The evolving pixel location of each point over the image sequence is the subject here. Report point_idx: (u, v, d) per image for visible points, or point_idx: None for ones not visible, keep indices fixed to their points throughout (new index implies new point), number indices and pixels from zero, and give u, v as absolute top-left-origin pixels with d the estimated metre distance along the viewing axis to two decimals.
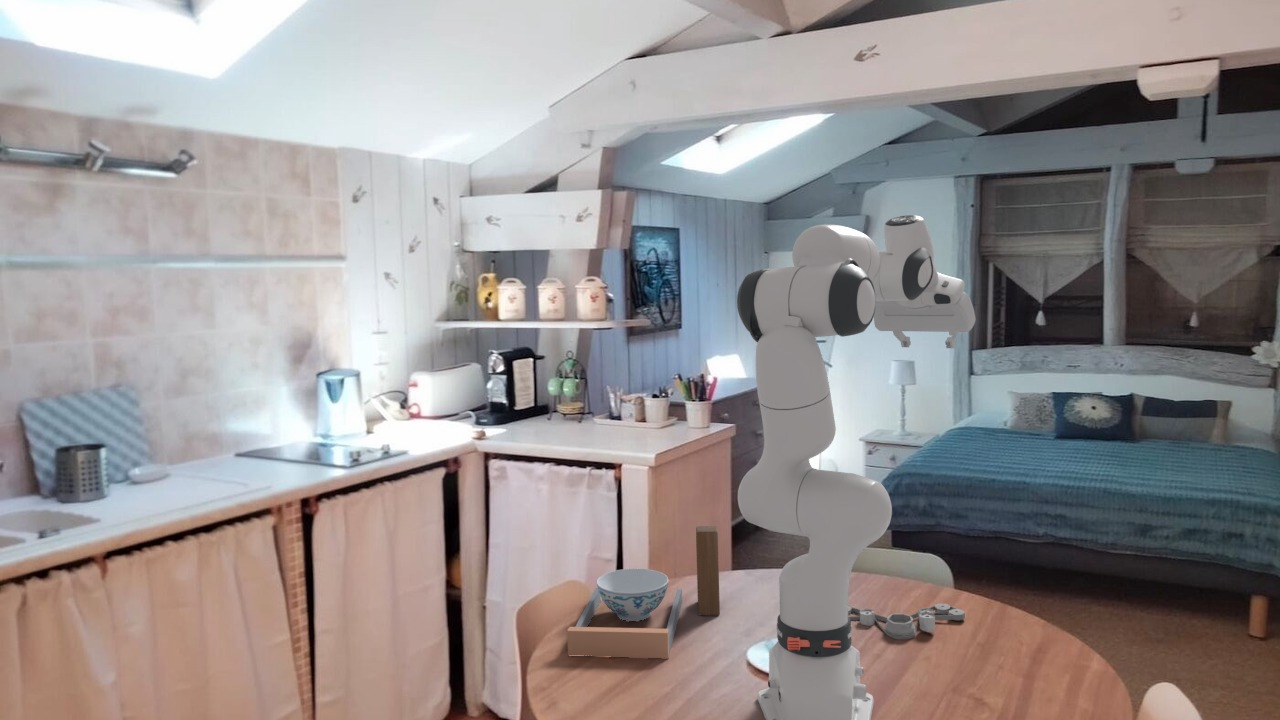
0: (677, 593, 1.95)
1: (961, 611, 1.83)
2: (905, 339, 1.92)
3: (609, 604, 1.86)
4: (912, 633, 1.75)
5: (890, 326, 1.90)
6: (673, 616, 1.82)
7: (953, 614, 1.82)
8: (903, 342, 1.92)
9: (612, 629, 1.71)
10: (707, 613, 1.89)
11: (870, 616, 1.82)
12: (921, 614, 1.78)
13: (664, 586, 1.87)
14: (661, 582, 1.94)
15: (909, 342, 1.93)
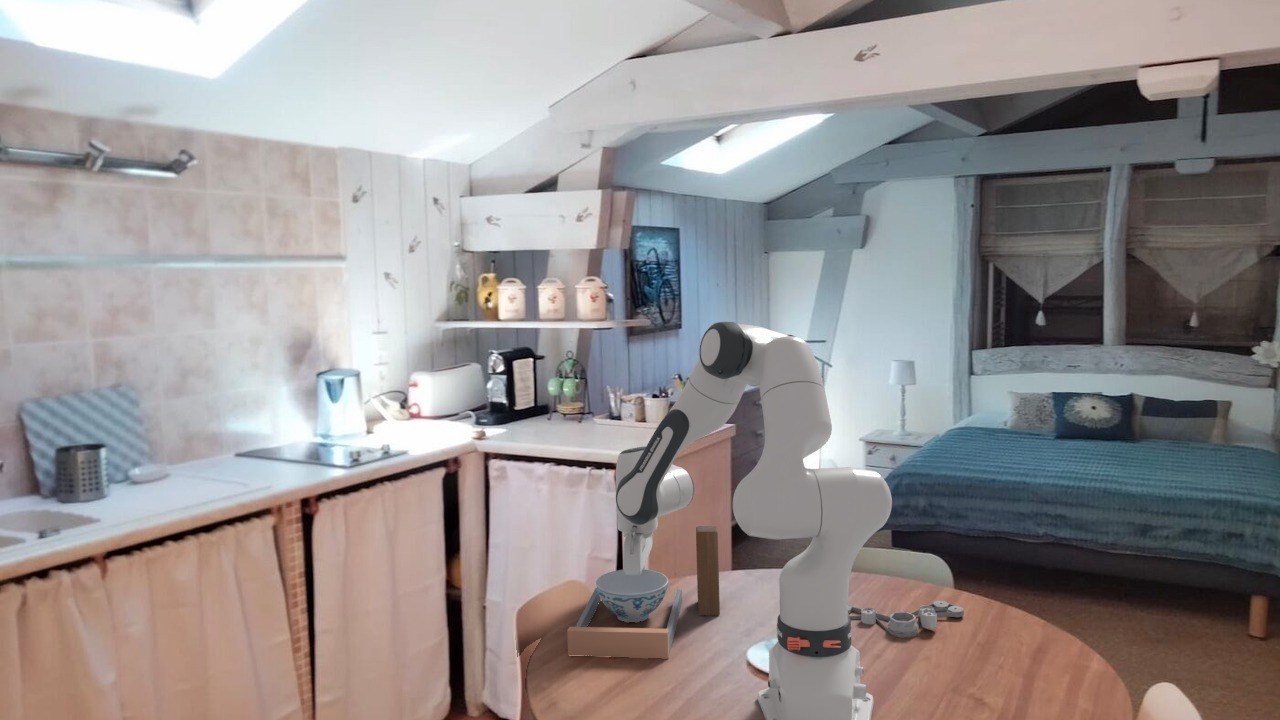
0: (677, 593, 1.95)
1: (960, 608, 1.85)
2: None
3: (608, 605, 1.86)
4: (915, 631, 1.76)
5: (642, 565, 1.93)
6: (673, 616, 1.82)
7: (953, 611, 1.84)
8: None
9: (612, 629, 1.71)
10: (707, 613, 1.89)
11: (872, 615, 1.82)
12: (923, 612, 1.79)
13: (664, 587, 1.86)
14: (661, 583, 1.93)
15: None
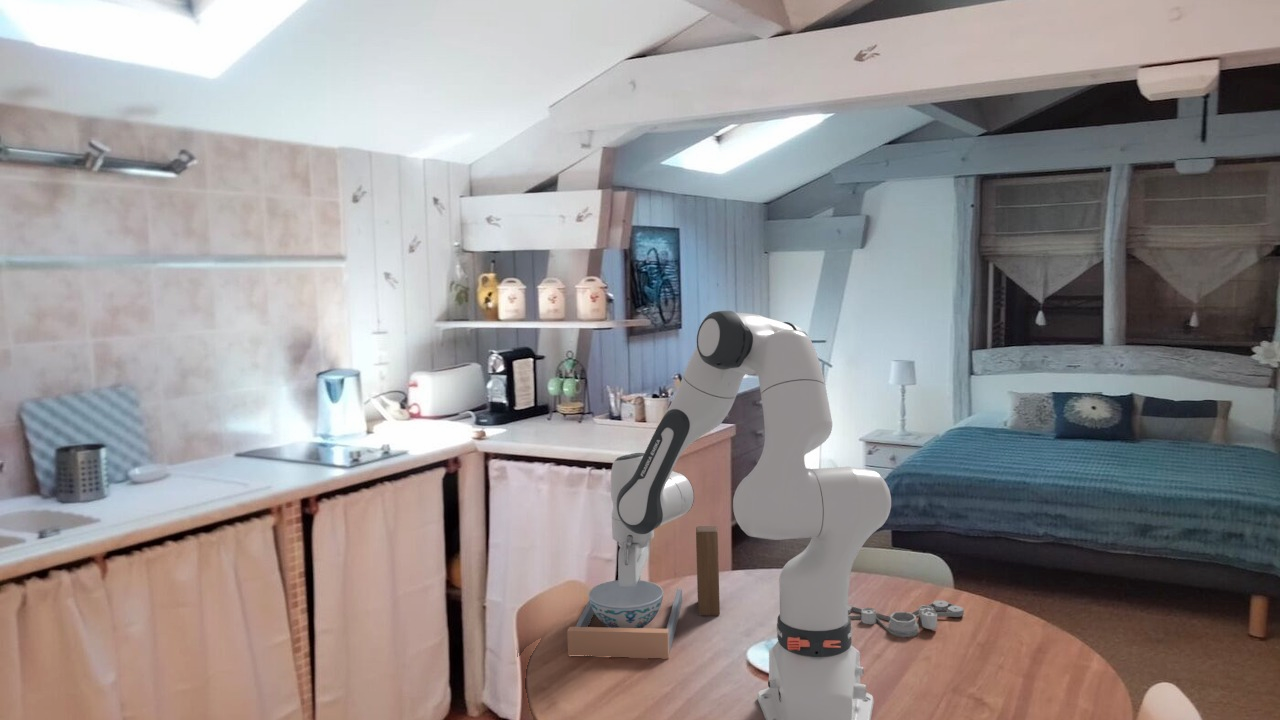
0: (677, 593, 1.95)
1: (960, 608, 1.85)
2: None
3: (601, 618, 1.79)
4: (915, 631, 1.76)
5: (638, 576, 1.86)
6: (673, 616, 1.82)
7: (953, 610, 1.84)
8: None
9: (612, 629, 1.71)
10: (707, 613, 1.89)
11: (872, 615, 1.82)
12: (923, 612, 1.79)
13: (658, 600, 1.79)
14: (656, 594, 1.86)
15: None
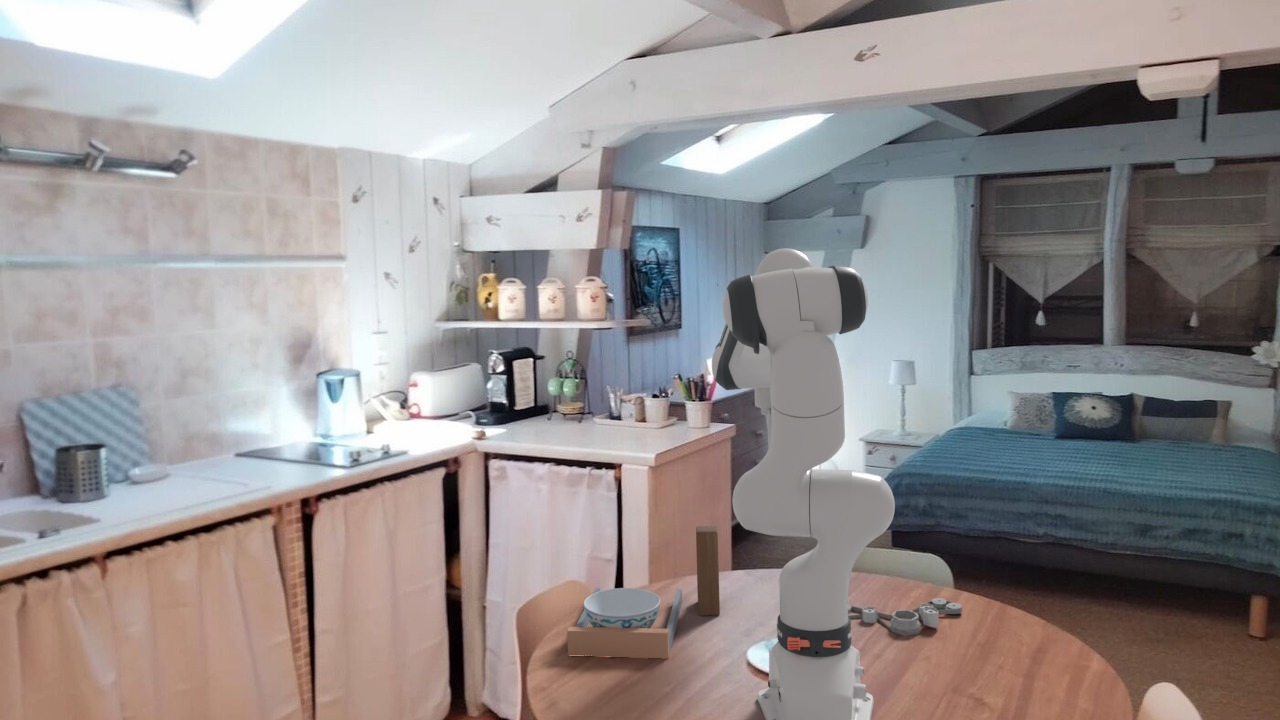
0: (677, 593, 1.95)
1: (958, 605, 1.87)
2: None
3: None
4: (918, 629, 1.77)
5: None
6: (673, 616, 1.82)
7: (952, 608, 1.86)
8: None
9: (612, 629, 1.71)
10: (707, 613, 1.89)
11: (873, 614, 1.83)
12: (924, 609, 1.80)
13: (655, 608, 1.75)
14: (653, 603, 1.82)
15: None
